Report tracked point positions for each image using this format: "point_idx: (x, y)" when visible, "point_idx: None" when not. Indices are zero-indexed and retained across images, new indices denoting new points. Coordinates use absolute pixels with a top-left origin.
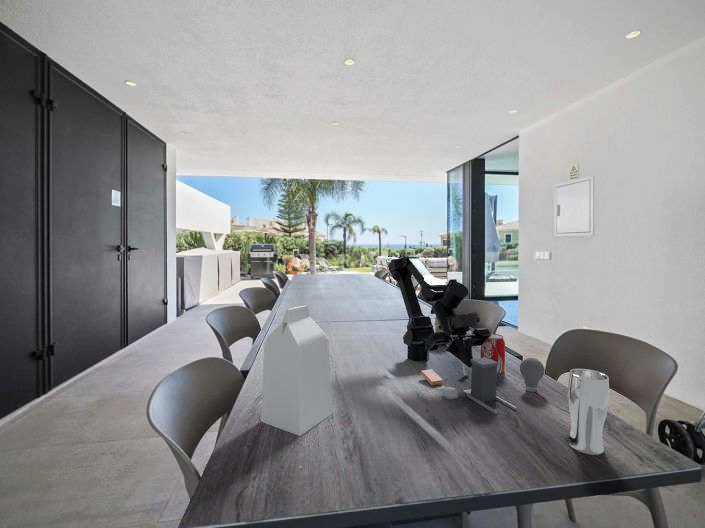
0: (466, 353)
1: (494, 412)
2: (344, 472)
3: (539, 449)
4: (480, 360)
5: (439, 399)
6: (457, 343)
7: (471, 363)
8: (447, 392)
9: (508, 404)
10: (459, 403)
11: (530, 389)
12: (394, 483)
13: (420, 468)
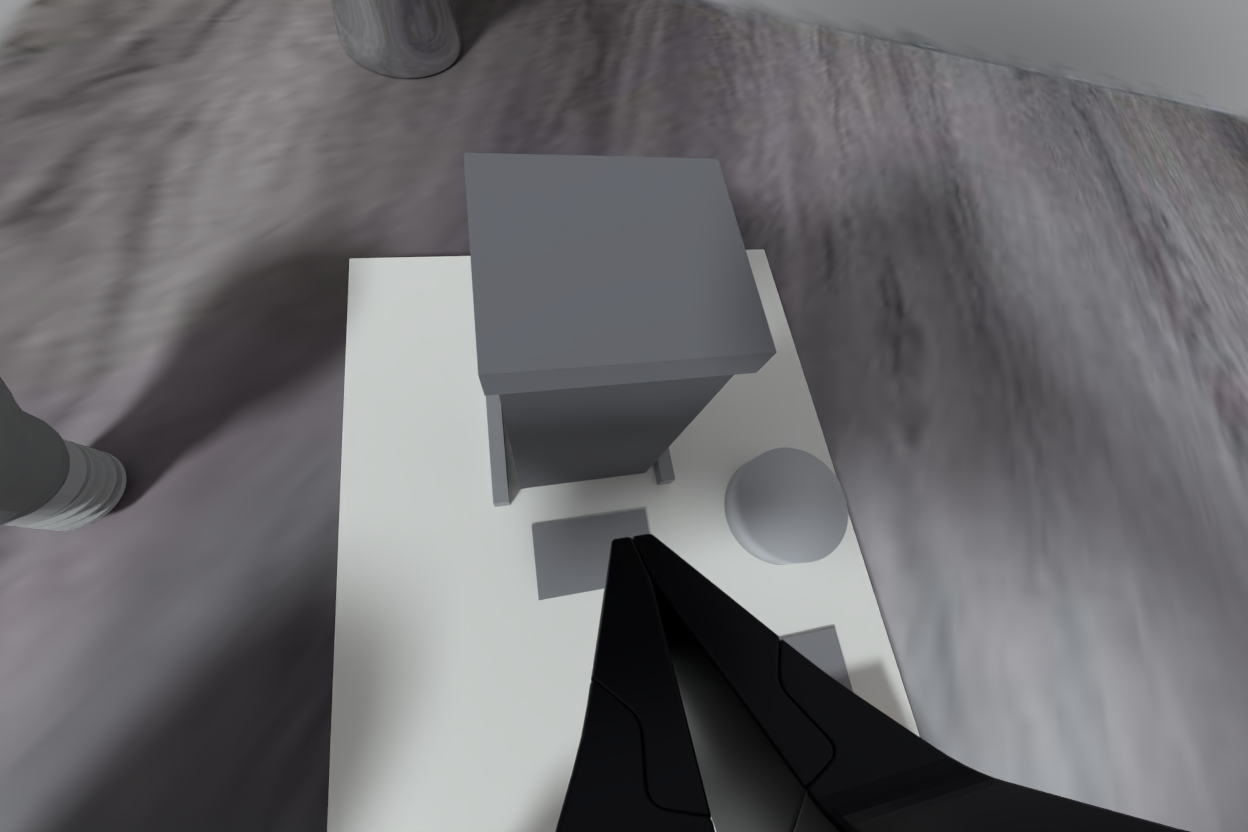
0: (730, 657)
1: None
2: (1150, 173)
3: (587, 81)
4: (662, 274)
5: None
6: (1138, 827)
7: (637, 554)
8: (828, 472)
9: None
10: None
11: (77, 457)
12: (1034, 111)
13: (974, 130)
